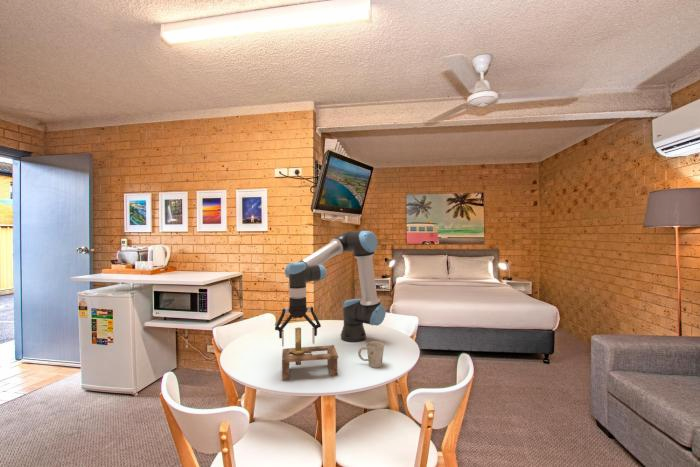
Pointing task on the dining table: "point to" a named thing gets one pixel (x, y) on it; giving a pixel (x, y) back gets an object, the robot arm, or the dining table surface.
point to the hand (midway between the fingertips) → (298, 344)
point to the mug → (373, 353)
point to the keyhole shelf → (310, 358)
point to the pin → (298, 345)
